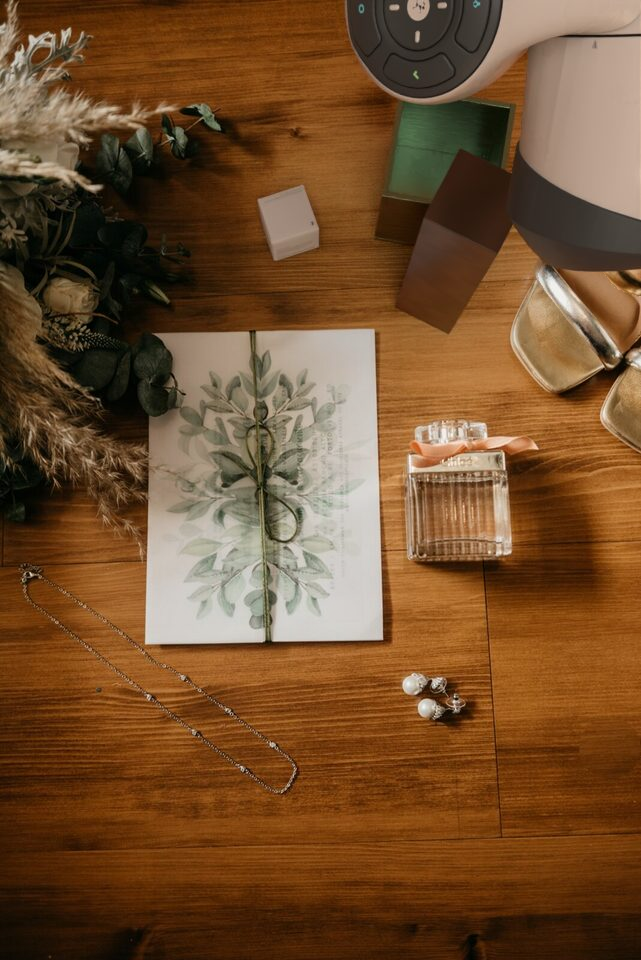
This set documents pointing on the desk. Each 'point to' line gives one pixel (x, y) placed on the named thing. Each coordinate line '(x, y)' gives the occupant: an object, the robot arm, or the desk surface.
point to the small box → (289, 222)
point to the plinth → (456, 241)
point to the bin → (436, 156)
